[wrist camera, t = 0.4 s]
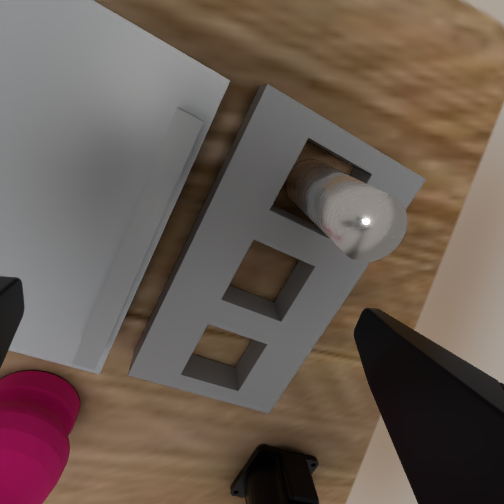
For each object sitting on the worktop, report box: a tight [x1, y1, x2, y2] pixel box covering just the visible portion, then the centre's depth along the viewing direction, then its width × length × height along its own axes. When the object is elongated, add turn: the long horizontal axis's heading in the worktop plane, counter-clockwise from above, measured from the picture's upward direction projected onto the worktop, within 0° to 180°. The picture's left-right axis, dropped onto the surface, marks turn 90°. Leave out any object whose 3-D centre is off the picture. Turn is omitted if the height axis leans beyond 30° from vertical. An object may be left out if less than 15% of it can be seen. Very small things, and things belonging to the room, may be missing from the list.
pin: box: [286, 160, 407, 262], centre depth 18 cm, size 3×3×9 cm
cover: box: [0, 0, 230, 374], centre depth 17 cm, size 18×11×5 cm, turn 152°
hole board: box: [128, 84, 426, 414], centre depth 23 cm, size 20×11×2 cm, turn 152°
